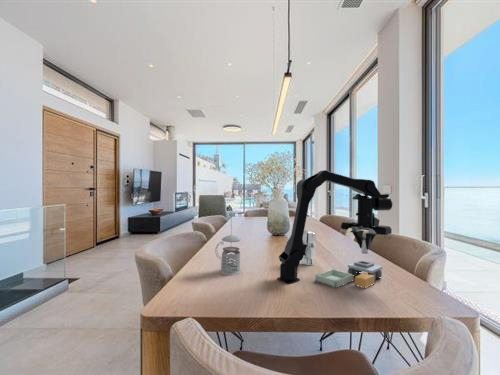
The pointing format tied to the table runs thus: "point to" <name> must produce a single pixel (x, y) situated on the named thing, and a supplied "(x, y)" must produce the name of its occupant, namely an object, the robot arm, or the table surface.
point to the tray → (334, 278)
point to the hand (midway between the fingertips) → (364, 248)
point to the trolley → (365, 268)
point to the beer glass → (309, 247)
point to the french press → (230, 256)
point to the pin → (364, 246)
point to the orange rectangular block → (364, 280)
